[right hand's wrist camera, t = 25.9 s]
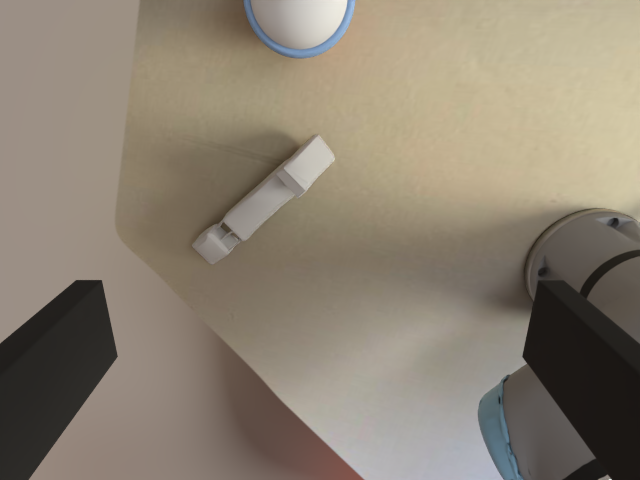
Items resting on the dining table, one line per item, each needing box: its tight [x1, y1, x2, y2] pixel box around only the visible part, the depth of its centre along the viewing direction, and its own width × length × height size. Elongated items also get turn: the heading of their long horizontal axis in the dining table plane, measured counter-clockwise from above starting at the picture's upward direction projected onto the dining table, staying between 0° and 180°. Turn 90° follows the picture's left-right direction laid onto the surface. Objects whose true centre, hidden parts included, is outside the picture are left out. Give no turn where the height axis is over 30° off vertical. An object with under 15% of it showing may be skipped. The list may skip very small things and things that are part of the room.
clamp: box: [192, 134, 335, 265], centre depth 48 cm, size 20×4×7 cm, turn 131°
